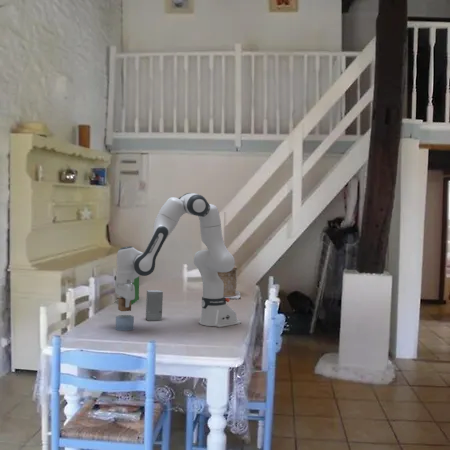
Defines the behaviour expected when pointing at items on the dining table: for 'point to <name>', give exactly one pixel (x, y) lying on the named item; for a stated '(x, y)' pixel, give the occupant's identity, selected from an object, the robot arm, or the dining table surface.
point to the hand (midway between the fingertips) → (124, 305)
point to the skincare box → (154, 305)
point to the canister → (124, 322)
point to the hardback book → (136, 287)
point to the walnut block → (123, 305)
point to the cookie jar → (229, 284)
